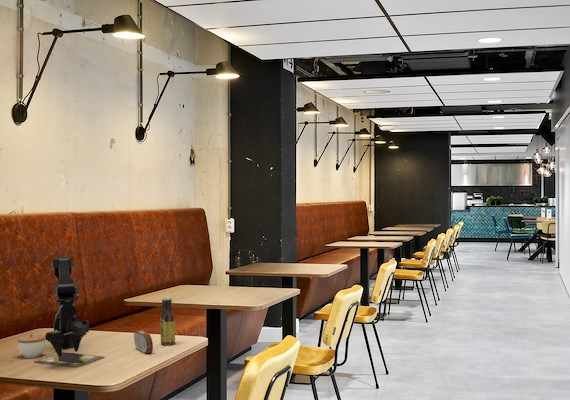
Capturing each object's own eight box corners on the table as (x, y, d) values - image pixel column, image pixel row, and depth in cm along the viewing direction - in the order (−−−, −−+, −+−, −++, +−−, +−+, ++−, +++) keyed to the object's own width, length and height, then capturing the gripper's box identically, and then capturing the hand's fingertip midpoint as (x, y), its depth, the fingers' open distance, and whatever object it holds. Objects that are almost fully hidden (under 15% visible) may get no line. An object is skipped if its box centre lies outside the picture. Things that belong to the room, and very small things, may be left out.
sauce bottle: (161, 343, 325) (160, 297, 325) (175, 342, 326) (174, 297, 325) (160, 346, 318) (158, 300, 318) (174, 345, 319) (173, 299, 319)
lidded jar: (51, 354, 309) (50, 331, 309) (34, 360, 299) (33, 336, 299) (29, 352, 312) (28, 330, 312) (12, 358, 302) (11, 335, 302)
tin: (153, 354, 304) (153, 333, 304) (146, 355, 302) (145, 334, 302) (140, 348, 317) (139, 328, 316) (133, 349, 315) (132, 329, 315)
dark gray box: (53, 361, 293) (53, 353, 293) (59, 359, 296) (59, 351, 296) (81, 363, 287) (81, 355, 287) (87, 362, 290) (86, 354, 290)
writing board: (34, 362, 294) (34, 360, 294) (62, 353, 309) (62, 352, 309) (77, 367, 285) (77, 365, 285) (104, 357, 299) (104, 356, 299)
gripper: (66, 320, 280) (67, 361, 280) (98, 311, 296) (100, 350, 297) (43, 318, 284) (45, 358, 285) (77, 310, 301) (78, 348, 302)
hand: (68, 354), depth 292 cm, fingers open, 9 cm apart
